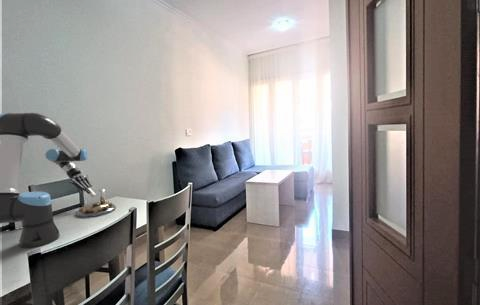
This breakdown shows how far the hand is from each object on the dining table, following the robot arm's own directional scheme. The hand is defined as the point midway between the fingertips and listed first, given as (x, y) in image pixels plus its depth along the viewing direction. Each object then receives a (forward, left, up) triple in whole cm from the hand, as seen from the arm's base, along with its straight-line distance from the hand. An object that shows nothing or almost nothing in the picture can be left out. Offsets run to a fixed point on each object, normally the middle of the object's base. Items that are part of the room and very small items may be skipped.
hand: (93, 196), depth 169 cm
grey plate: (-6, -7, -8) cm, 12 cm away
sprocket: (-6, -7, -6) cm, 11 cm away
